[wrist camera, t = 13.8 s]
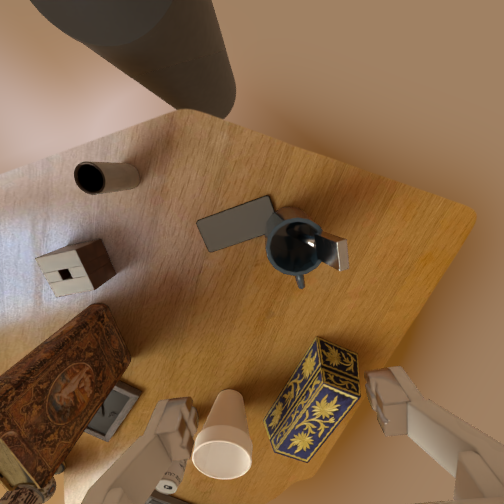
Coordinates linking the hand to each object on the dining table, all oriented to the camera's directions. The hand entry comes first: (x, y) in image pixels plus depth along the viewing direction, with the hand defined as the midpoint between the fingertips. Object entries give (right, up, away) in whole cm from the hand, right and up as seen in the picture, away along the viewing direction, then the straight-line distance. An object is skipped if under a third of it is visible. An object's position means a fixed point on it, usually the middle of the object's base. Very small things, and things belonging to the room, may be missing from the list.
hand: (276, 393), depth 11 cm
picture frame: (-42, -33, +52) cm, 75 cm away
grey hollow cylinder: (-24, +20, +33) cm, 45 cm away
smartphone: (-4, +12, +35) cm, 37 cm away
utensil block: (-35, +5, +38) cm, 52 cm away
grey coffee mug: (+6, +9, +35) cm, 37 cm away
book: (-35, -13, +45) cm, 58 cm away
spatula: (+6, +10, +34) cm, 36 cm away
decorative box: (+13, -27, +48) cm, 57 cm away
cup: (-7, -31, +50) cm, 59 cm away
